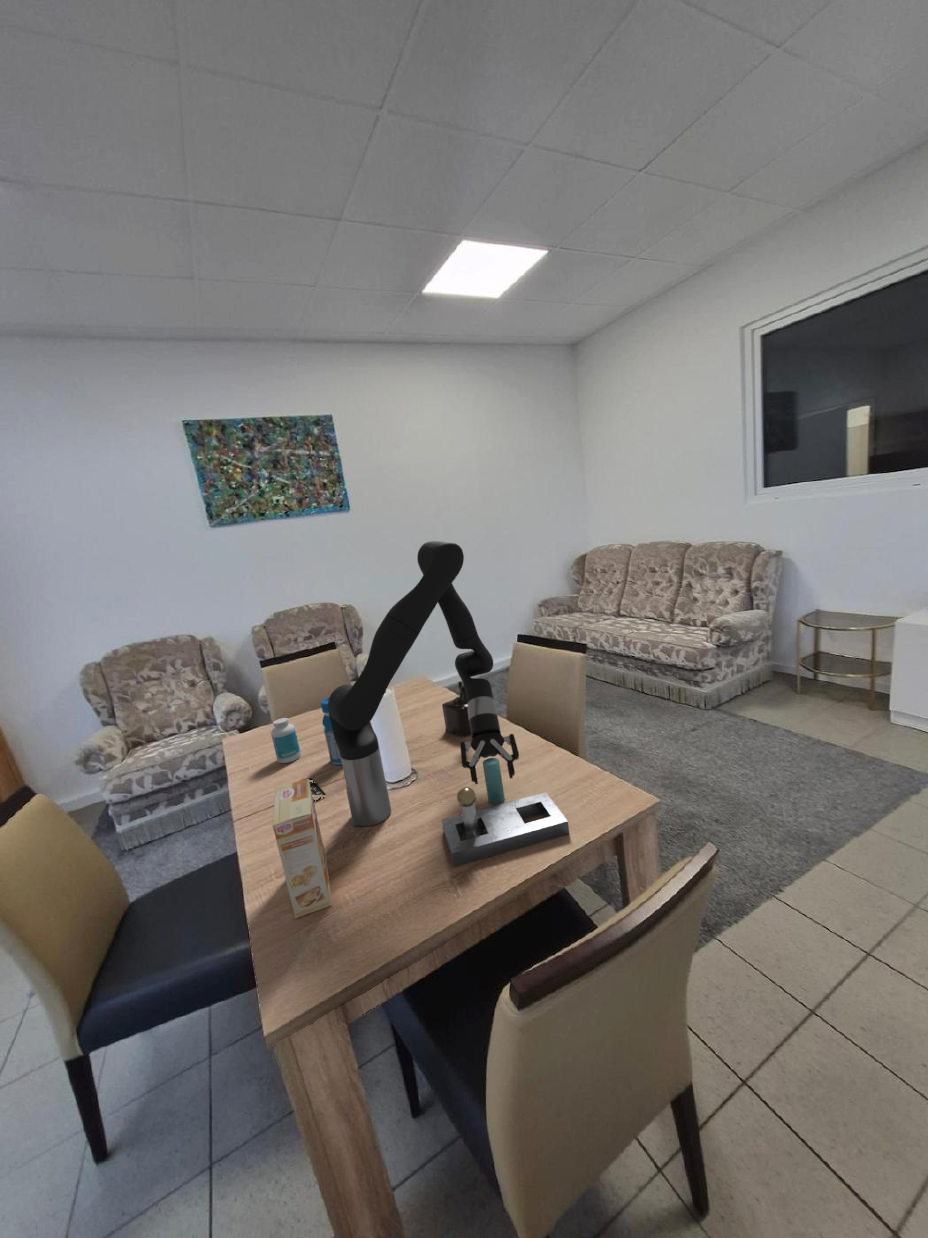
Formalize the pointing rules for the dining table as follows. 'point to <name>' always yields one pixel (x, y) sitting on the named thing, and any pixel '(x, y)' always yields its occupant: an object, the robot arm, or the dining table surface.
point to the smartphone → (318, 789)
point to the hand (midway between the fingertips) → (493, 780)
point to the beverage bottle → (330, 735)
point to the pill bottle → (285, 741)
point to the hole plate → (500, 826)
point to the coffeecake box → (301, 848)
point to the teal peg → (493, 781)
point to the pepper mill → (457, 714)
